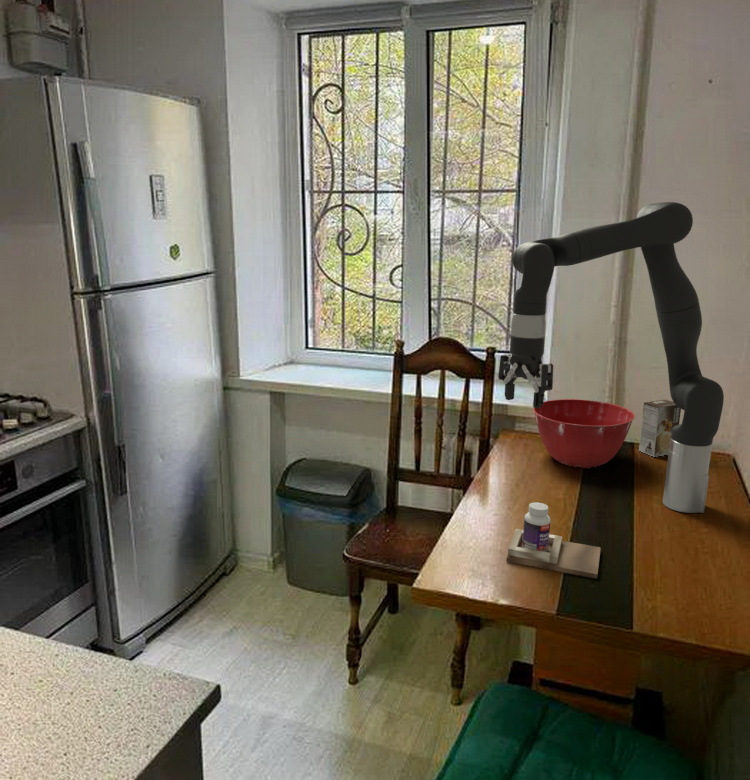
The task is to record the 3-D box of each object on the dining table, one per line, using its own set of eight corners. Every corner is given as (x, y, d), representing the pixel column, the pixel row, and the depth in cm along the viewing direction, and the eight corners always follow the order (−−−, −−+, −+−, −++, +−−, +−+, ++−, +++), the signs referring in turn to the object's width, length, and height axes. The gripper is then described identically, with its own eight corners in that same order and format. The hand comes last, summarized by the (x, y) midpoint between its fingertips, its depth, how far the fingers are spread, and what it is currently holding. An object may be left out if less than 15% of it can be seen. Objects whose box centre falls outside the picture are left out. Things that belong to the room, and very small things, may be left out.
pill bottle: (542, 556, 138) (546, 513, 135) (517, 549, 141) (521, 506, 138) (551, 547, 142) (555, 505, 140) (527, 540, 145) (531, 498, 143)
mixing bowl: (514, 464, 194) (518, 413, 190) (549, 439, 216) (553, 393, 212) (613, 486, 178) (619, 431, 174) (639, 456, 201) (645, 407, 197)
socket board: (600, 551, 142) (601, 541, 142) (597, 578, 132) (598, 567, 131) (516, 536, 149) (516, 526, 148) (506, 561, 138) (507, 550, 137)
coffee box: (659, 448, 209) (665, 398, 205) (676, 454, 203) (682, 404, 199) (637, 451, 205) (643, 401, 201) (653, 458, 199) (660, 407, 195)
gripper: (564, 337, 145) (558, 408, 149) (516, 328, 156) (511, 394, 160) (541, 340, 141) (535, 413, 145) (493, 330, 152) (489, 399, 156)
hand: (523, 403), depth 152 cm, fingers open, 8 cm apart
